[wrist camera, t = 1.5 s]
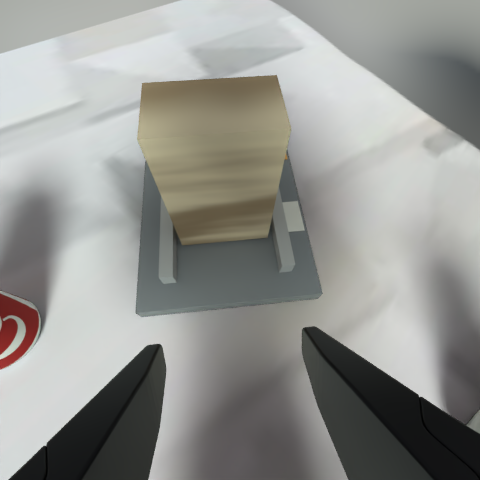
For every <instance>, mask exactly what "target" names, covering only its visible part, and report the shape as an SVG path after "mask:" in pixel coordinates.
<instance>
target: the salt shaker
mask: <svg viewBox="0 0 480 480" xmlns="http://www.w3.org/2000/svg"><path fill="white" fill-rule="evenodd" d="M466 426H468V427H470V428H471V429H473V430H475V431H476V432H478V433H480V410H479V411H477V413H476V414H475V415H474V416H473V417H472V419H471V420H470V421H469V422H468V423H467V425H466Z"/></svg>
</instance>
